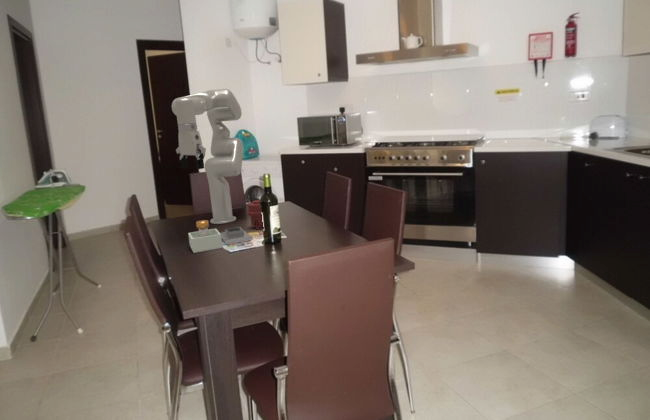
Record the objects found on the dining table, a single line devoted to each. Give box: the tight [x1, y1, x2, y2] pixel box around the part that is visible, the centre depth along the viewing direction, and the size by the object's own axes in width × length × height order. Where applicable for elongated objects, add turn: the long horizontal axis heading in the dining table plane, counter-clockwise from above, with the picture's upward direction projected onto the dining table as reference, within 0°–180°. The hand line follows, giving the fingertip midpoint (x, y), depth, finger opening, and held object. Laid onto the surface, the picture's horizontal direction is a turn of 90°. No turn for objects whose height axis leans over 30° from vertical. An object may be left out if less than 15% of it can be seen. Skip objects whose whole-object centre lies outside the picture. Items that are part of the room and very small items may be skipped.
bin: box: [187, 228, 223, 254], centre depth 203 cm, size 11×11×6 cm
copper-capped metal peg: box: [195, 219, 210, 237], centre depth 202 cm, size 5×5×10 cm
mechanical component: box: [246, 199, 264, 230], centre depth 228 cm, size 12×10×10 cm
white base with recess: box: [219, 226, 251, 245], centre depth 212 cm, size 14×10×4 cm
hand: (193, 168), depth 214 cm, fingers open, 9 cm apart
